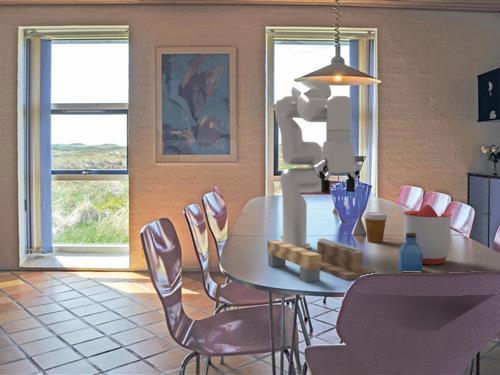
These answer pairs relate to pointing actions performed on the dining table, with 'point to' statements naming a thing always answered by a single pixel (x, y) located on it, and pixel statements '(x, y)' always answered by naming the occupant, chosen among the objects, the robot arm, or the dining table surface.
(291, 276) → the dining table surface
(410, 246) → the perfume bottle
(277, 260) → the pair of grey cubes
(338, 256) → the stand
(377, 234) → the disposable coffee cup
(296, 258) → the oak batten
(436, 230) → the citrus juicer
